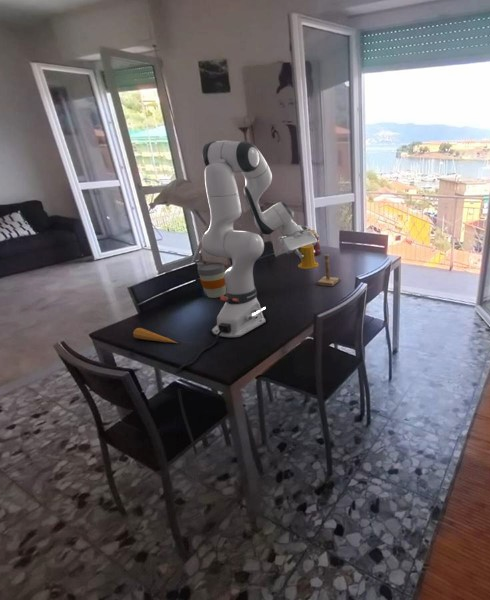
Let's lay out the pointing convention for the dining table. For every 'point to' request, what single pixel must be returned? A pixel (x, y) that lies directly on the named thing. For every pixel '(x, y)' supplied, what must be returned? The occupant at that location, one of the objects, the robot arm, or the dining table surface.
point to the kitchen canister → (316, 246)
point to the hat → (307, 257)
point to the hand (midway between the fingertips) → (308, 255)
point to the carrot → (150, 336)
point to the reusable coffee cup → (213, 279)
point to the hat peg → (327, 275)
